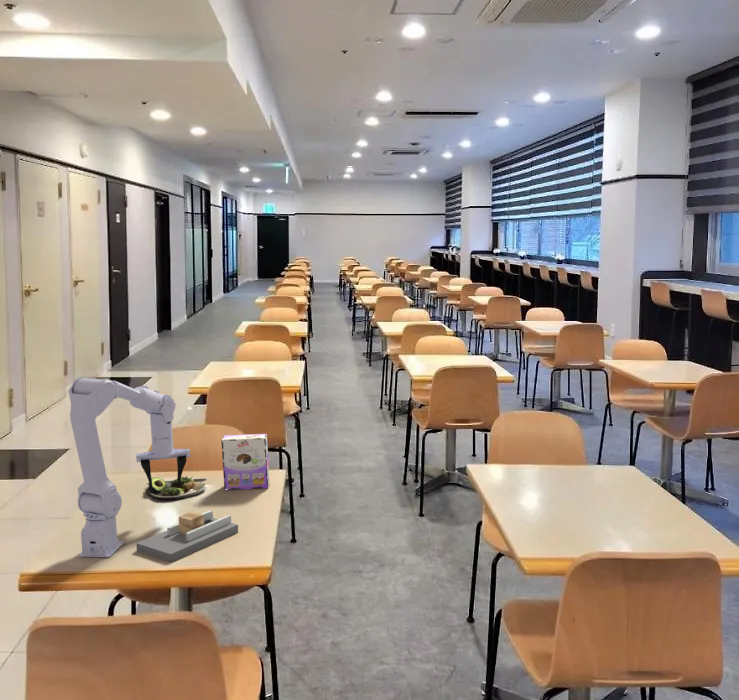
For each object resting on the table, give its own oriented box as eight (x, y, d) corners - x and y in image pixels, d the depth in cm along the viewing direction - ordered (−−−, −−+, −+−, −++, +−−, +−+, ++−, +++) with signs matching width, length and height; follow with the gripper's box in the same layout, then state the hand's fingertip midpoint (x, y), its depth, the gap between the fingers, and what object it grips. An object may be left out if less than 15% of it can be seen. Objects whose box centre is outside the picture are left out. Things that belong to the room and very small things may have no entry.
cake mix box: (269, 483, 253) (267, 432, 251) (268, 489, 247) (266, 437, 245) (226, 484, 253) (223, 434, 250) (223, 490, 247) (220, 439, 244)
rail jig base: (204, 522, 220) (203, 508, 219) (238, 531, 213) (237, 517, 212) (136, 550, 202) (135, 535, 201) (171, 561, 194) (170, 546, 194)
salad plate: (196, 478, 261) (195, 464, 261) (220, 491, 247) (219, 477, 246) (138, 490, 250) (137, 476, 249) (160, 505, 236) (159, 490, 235)
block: (192, 527, 211) (191, 511, 210) (204, 531, 208) (203, 514, 208) (179, 533, 207) (178, 516, 207) (191, 536, 205) (190, 519, 204)
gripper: (187, 430, 227) (190, 476, 229) (134, 435, 223) (138, 482, 225) (189, 436, 220) (192, 484, 222) (135, 442, 216) (138, 490, 218)
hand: (165, 483), depth 223 cm, fingers open, 7 cm apart
